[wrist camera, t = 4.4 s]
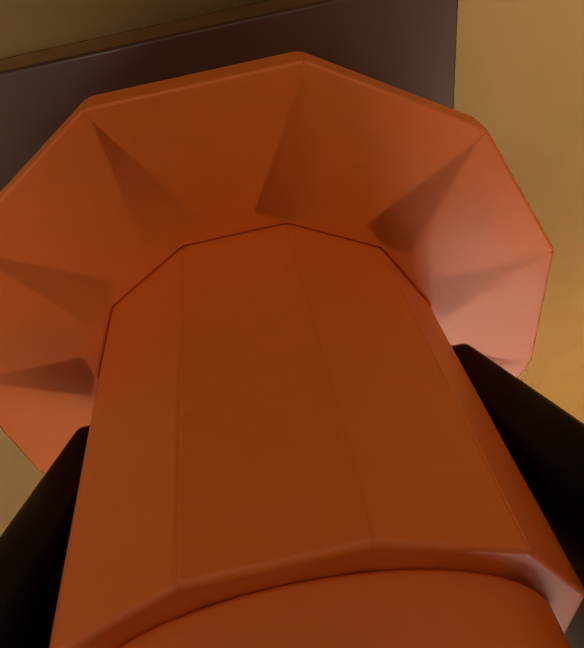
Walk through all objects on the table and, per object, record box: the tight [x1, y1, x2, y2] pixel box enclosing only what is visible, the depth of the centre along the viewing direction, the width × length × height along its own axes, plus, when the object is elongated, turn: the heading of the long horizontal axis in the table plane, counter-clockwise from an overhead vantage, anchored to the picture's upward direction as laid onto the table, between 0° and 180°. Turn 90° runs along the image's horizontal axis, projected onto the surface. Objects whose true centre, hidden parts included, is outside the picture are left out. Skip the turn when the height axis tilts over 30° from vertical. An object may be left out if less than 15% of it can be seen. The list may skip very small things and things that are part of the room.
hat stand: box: [0, 0, 458, 192], centre depth 11 cm, size 10×10×9 cm
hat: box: [0, 51, 584, 648], centre depth 8 cm, size 10×10×7 cm
